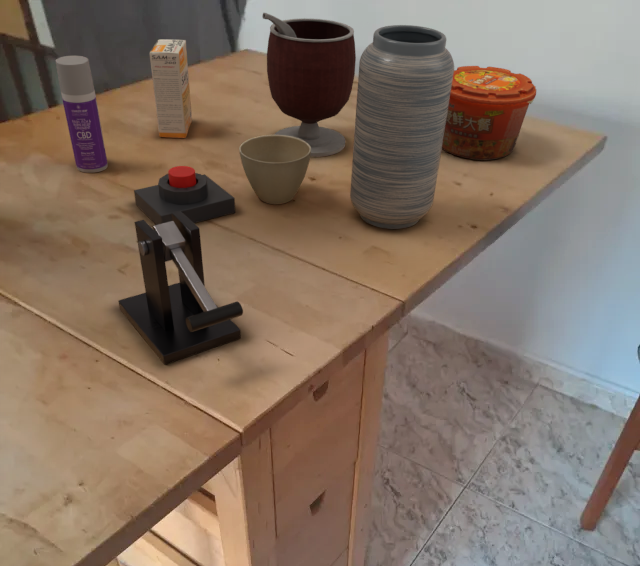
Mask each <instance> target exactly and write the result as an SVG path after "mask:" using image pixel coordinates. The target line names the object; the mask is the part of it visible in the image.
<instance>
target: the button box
mask: <svg viewBox="0 0 640 566" xmlns="http://www.w3.org/2000/svg"><path fill="white" fill-rule="evenodd" d="M195 175H196V185H194V186H192V187H187V188H176V187H172V186H170V183H169V175H168V173H166V174H164V175H163V176H161V177H159V178H158V182H157V184H155V185H151V186H147V187H142V188H137V189H134V190H133V194H134V200H135V206H136V207H137V208H138V209H140V211H142V212H143V213H144V214H145V216H147V217H148V218H149V220H151V221H152V222H153V223H154V224H155V225H159V224H162V223H166V222H170V221H172V214H171V213H173V212H177V211H181V212H182V213H183V214H184V215H185V216H187V217H188V218H189V219H190V220H191V221H192V222H193V223H194V224H197V223H200V222H204V221H207V220H212V219H216V218H219V217H223V216H227V215H231V214H235V213H236V200H235V197H234V196H233V195H231V194H230V192H228V191H227V190H225V189H224V188H223V187H222V186H220V185H219V184H218V183H216V182H215V181H214V180H212V179H211V178H210V177H209V176H208V175H206V174H201V173H198V172H195Z"/></svg>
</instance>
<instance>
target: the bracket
mask: <svg viewBox="0 0 640 566" xmlns="http://www.w3.org/2000/svg"><path fill="white" fill-rule="evenodd" d="M171 214H172V221H174V223H175V224H176V226H177V228H178V229H179V231H180V232H181V234H182V236H183V237H184V239H185V251H184V254H185V256H186V257H187V259H188V261H189V262H190V264H191V266H192V267H193V269H194V270H195V272H196V274H197V275H198V277H199V279H200V280H201V282H202V283H203V285H204V287H205V288H206V286H205V273H204V264H203V263H204V262H203V253H202V252H203V251H202V241H201V230H200V227H199V226H198V225H197V224H196V223H193V222H192V221H191V220H190V219H189V218H188V217H187V216H185V215H184V214H183V213H182V212H181V211H177V212H173V213H171ZM134 227H135V228H134V229H135V234H136V241H137V246H138V253H139V258H140V265H141V273H142V278H143V286H144V291H145V292H143V293H140V294H139V293H138V294H136V295H133V296H130V297H126V298H122V299H119V300H117V301H118V307H119V310H120V312H121V313H122V314H123V315H124V316H125V318H126V319H127V320H128V321H129V323H130V324H131V325H132V327H134V329H135V330H136V331H137V333H138V334H139V335H140V336H141V337H142V339H143V340H144V341H145V343H146V344H147V345H148V346H149V347H150V348H151V350H152V351H153V352H154V353H155V355H156V356H157V357H158V359H160V361H161V362H162V363H163V364H164V365H168V364H171V363H174V362H177V361H180V360H183V359H186V358H188V357H191V356H194V355H197V354H200V353H202V352H206V351H209V350H212V349H214V348H218V347H220V346H222V345H225V344H229V343H232V342H235V341H237V340H240V339H241V337H242V335H241V334H242V331H241V328H240V327H239V326H238V325H237V324H235V322H234V321H233V320H232V319H230V320H227V321H224V322H221V323H218V324H215V325H212V326H209V327H206V328H203V329H200V330H197V331H194V332H190V331H189V329H188V327H187V325H186V318H187V317H190V316H193V315H196V314H199V313H202V312H204V311H203V310H202V308H201V306H200V305H199V303H198V301H197V300H196V298H195V296H194V295H193V293H192V292H191V290H190V288H189V287H188V285H187V283H186V282H185V280H184V278H183V277H182V275H181V273H180V272H179V270H178V269H177V272H178V280H179V282H176V283H173V284H170V285H169V280H168V271H167V265H166V262H165V256H164V249H163V241H162V237H161V236H160V235H159V234H158V233H157V232H156V231H155V230H154V229H153V226H151V225H150V224H149V223H147V222H146V220H145V219H140V220H136V221H134ZM215 305H216V306H217V308H218V307H219V306H218V305H217V304H216V303H215Z"/></svg>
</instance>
